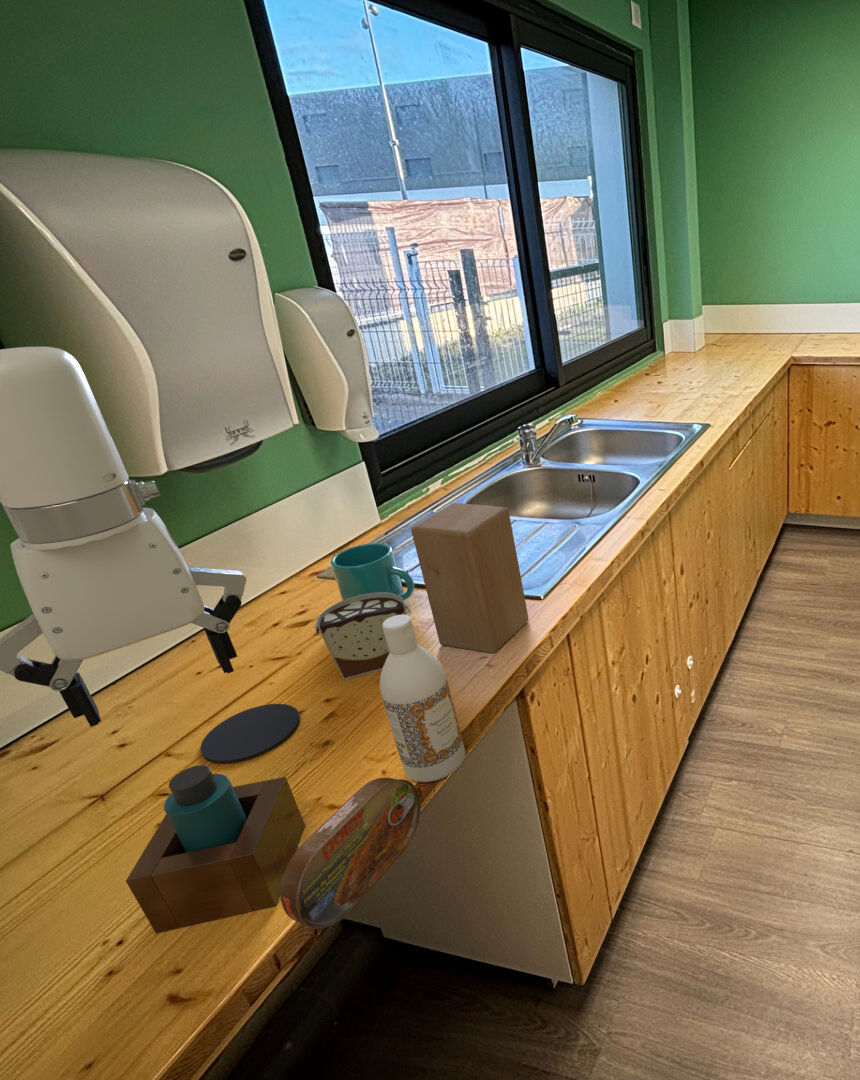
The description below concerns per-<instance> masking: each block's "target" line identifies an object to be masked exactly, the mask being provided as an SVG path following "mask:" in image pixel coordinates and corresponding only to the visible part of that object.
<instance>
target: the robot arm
mask: <svg viewBox="0 0 860 1080" xmlns="http://www.w3.org/2000/svg"><path fill="white" fill-rule="evenodd" d="M160 496H161V493H160V490H159V489H158V485H157V484H156V482H155V481H154V480H153V479H152V480H150V481H149V480H148V481H145V482H143V481H142V480H141V481H137V482H136V480H135V479H130V478H129V474H128V472H127V469H126V468H125V465H124V463H123V460H122V458H121V456H120V453H119V451H118V449H117V446H116V444H115V441H114V440H113V437H112V434H111V432H110V430H109V428H108V426H107V423H106V421H105V418H104V416H103V414H102V412H101V410H100V407H99V404H98V402H97V399H96V398H95V395H94V394H93V391H92V389H91V386H90V384H89V381H88V380H87V377H86V375H85V373H84V371H83V369H82V366H81V365H80V363H79V362H78V360H77V359H76V358H75V357H74V356H73V355H72V354H70V353H69V352H68V351H66V350H63V349H61V348H59V347H53V346H21V347H11V348H2V349H0V504H1V505H2V508H3V509H4V512H5V514H6V515H7V517H8V520H9V521H10V523H11V525H12V527H13V529H14V531H15V534H17V536H18V538H17V539H15V540H14V541H12V542H11V543H10V550H11V551H10V552H11V557H12V561H13V564H14V567H15V570H16V573H17V576H18V580H19V582H20V585H21V587H22V589H23V593H24V594H25V597H26V599H27V601H28V605H29V606H30V609H31V611H32V613H31V614H30V615H29V616H28V617H26V618H25V619H24V620H23V621H21V622H20V623H18V624H17V625H16V626H15V627H13V628H12V629H10V630H9V631H8V632H7V633H6V634H4V635H3V636H2V637H0V671H1V672H3V673H5V674H7V675H10V676H12V677H15V679H16V680H17V681H20V682H24V683H27V684H33V685H39V686H44V687H49V688H50V689H51V690H52V691H56V692H59V694H60V695H61V697H62V699H63V701H64V703H65V704H66V706H67V708H68V710H69V712H70V714H71V715H72V717H73V719H78V718H79V717H82V716H83V717H85V719H86V721H87V723H88V725H89V727H90V728H92V727H95V726H97V725H100V723H101V722H102V719H101V715H100V711H99V708H98V706H97V704H96V702H95V700H94V698H93V696H92V694H91V693H90V691H89V689H88V687H87V685H86V683H85V681H84V679H83V677H82V676H81V673H80V672H78V671H79V668H80V667H81V665H82V664H83V661H84V660H87V659H91V658H94V657H98V656H101V655H104V654H107V653H110V652H114V651H116V650H119V649H122V648H125V647H128V646H130V645H135V644H136V643H140V642H142V641H145V640H146V641H147V640H148V639H151V638H154V637H157V636H160V635H163V634H166V633H168V632H171V631H175V630H177V629H180V628H182V627H183V628H184V626H187V625H190V624H193V625H195V626H198V627H201V628H203V630H204V633H205V636H206V637H207V640H208V642H209V645H210V647H211V649H212V652H213V655H214V656H215V658H216V661H217V663H218V665H219V666H220V668H221V670H222V672H223V673H224V674H231V673H233V672H235V669H234V667H233V665H232V663H231V660H233V659H235V658H238V654H237V652H236V649H235V647H234V644H233V642H232V639H231V636H230V634H229V629H230V627H231V626H230V624H231V622H232V620H233V619H234V618H235V616H236V614H237V613H238V612H239V610H240V608H241V606H242V597H243V596H244V591H245V588H246V583H247V578H246V575H244V573H243V572H242V571H240V570H235V569H234V570H233V569H232V570H231V569H220V568H206V567H195V566H194V567H193V566H189V565H188V564H187V562H186V561H185V558H184V556H183V554H182V553H181V550H180V548H179V547H178V545H177V543H176V541H175V540H174V538H173V536H172V534H171V533H170V531H169V529H168V528H167V526H166V524H165V523H164V521H163V520H162V519H161V517H160V516H159V515H158V513H157V512H156V511H155V510H154V508H150V507H143V506H145V505H146V502H148V501H150V500H151V499H153V498H158V497H160ZM198 586H208V587H209V586H210V587H224V589H223V594H222V596H221V597H220V599H219V601H218V602H217V603H216V605H215V606H214V608H212V607H210V606H209V605H205V604H204V601H203V597H202V595H201V593H200V590H199V587H198ZM41 635H43V637H44V638H45V640H46V642H47V644H48V645H49V648H50V649H51V651H52V652H53V654H54V657H53V659H52V660H51V662H50V663H48V662H43V661H39V660H35V659H30V658H26V657H24V656H23V655H22V654H20V653H19V652H20V651H22V650H23V649H24V648H25V647H27V646H28V645H29V644H31V643H32V642H33V641H34V640H36V639H37V638H38V637H39V636H41Z"/></svg>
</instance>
